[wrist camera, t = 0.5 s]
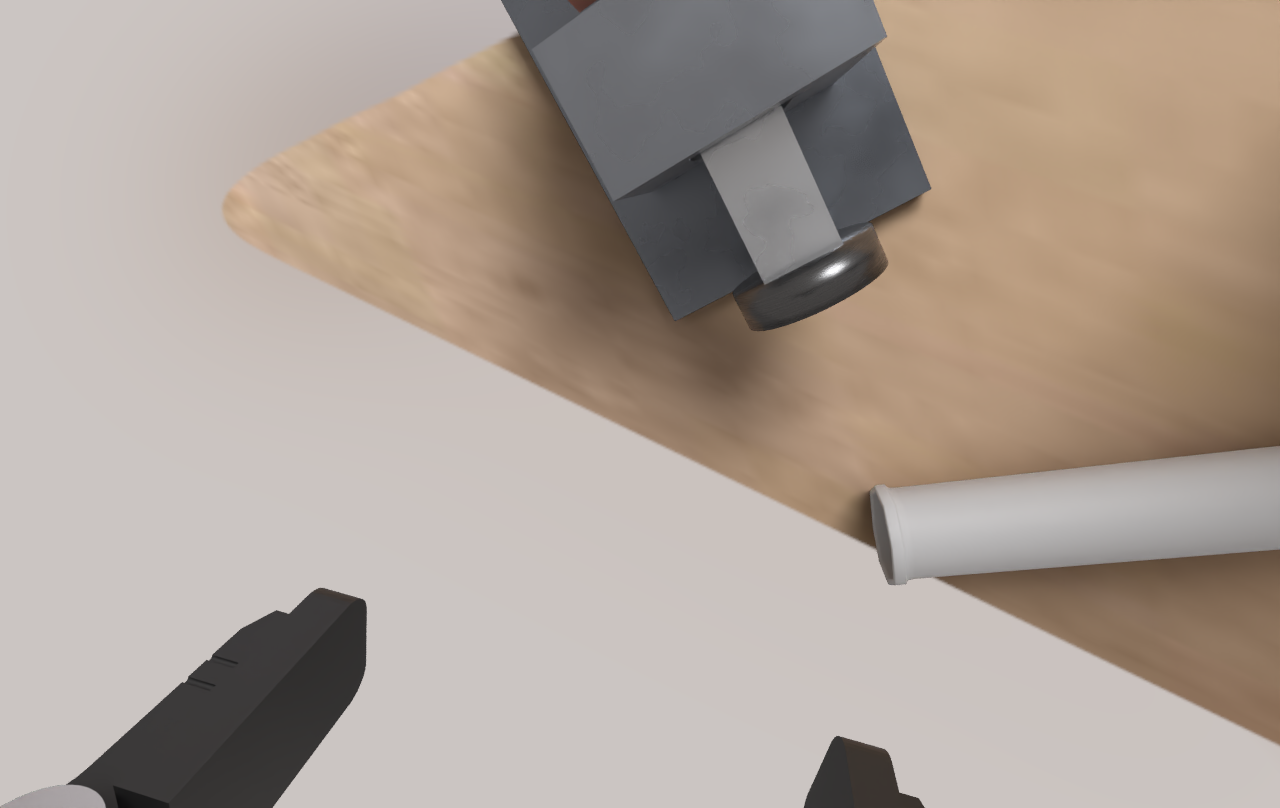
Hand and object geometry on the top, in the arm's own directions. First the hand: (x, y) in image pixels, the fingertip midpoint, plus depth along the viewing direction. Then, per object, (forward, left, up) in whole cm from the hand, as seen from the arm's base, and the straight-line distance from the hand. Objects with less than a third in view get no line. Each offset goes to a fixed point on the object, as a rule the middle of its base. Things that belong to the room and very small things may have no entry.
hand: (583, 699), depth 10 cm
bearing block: (-7, -10, -24) cm, 26 cm away
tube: (-16, +17, -24) cm, 34 cm away
